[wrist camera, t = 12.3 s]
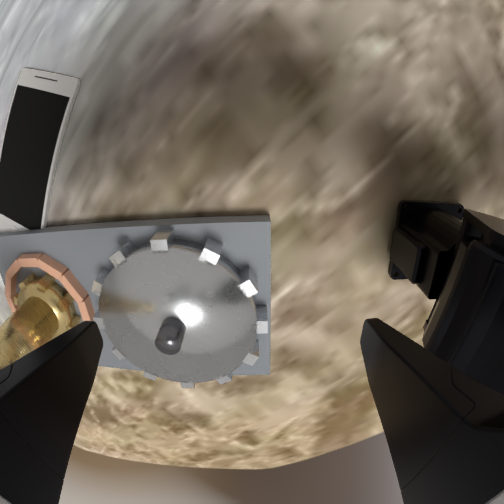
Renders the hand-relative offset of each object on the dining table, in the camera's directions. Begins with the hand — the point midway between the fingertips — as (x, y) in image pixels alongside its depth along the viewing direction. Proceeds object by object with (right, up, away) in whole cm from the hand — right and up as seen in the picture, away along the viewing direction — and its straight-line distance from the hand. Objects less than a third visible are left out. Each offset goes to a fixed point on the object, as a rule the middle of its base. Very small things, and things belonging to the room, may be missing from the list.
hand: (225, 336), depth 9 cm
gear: (-5, -2, +13) cm, 14 cm away
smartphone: (-18, +11, +10) cm, 23 cm away
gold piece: (-18, -2, +14) cm, 22 cm away
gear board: (-11, -1, +15) cm, 18 cm away
